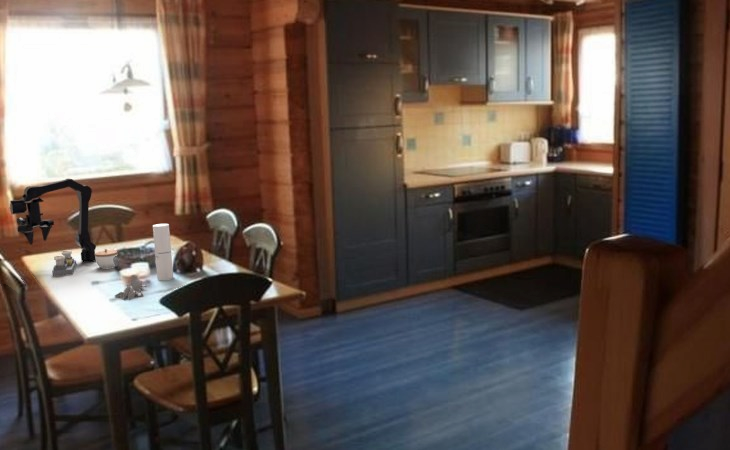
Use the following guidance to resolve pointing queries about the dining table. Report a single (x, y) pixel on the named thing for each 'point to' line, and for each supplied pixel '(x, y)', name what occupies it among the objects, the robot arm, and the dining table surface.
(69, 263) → the metal knob
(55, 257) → the knob
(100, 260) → the lidded jar
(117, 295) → the grey lumpy piece
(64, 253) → the white round cap
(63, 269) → the mount
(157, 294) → the dining table surface
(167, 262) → the cylindrical container
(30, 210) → the robot arm
